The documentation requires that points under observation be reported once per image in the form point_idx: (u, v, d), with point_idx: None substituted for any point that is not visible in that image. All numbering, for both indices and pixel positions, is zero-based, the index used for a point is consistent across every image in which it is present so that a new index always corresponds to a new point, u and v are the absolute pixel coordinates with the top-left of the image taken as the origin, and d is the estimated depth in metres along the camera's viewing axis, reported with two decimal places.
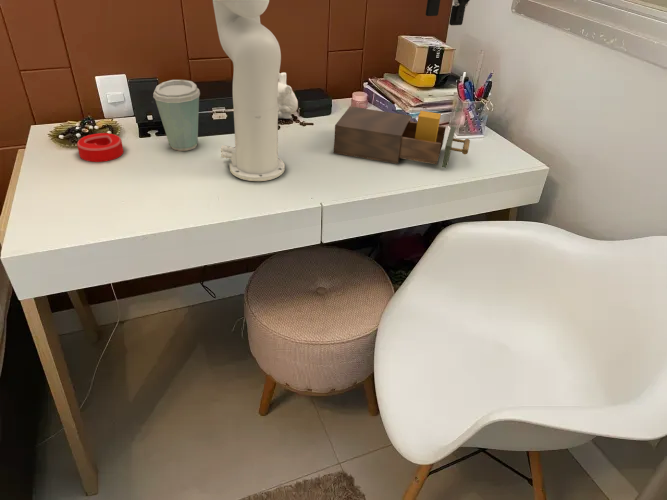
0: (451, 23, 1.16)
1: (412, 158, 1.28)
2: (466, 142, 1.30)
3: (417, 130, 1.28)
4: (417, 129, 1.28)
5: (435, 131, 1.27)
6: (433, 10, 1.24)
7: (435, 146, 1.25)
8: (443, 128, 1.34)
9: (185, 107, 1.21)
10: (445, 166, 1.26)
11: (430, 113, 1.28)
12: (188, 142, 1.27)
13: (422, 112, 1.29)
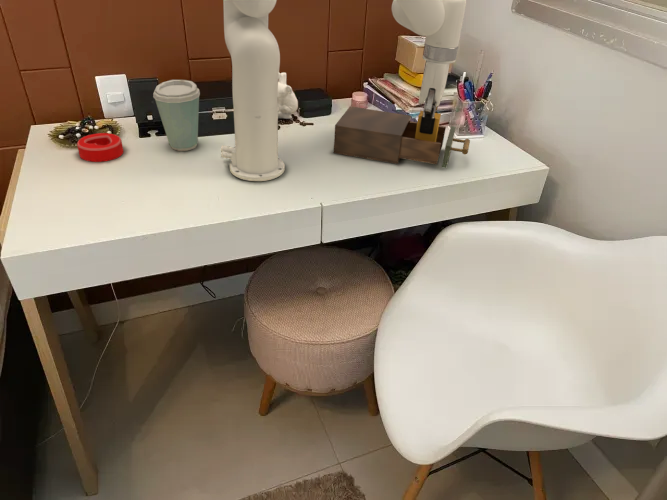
0: (420, 131, 1.28)
1: (412, 158, 1.28)
2: (466, 142, 1.30)
3: (417, 130, 1.28)
4: (417, 129, 1.28)
5: (435, 131, 1.27)
6: None
7: (435, 146, 1.25)
8: (443, 128, 1.34)
9: (185, 107, 1.21)
10: (445, 166, 1.26)
11: None
12: (188, 142, 1.27)
13: (422, 112, 1.29)
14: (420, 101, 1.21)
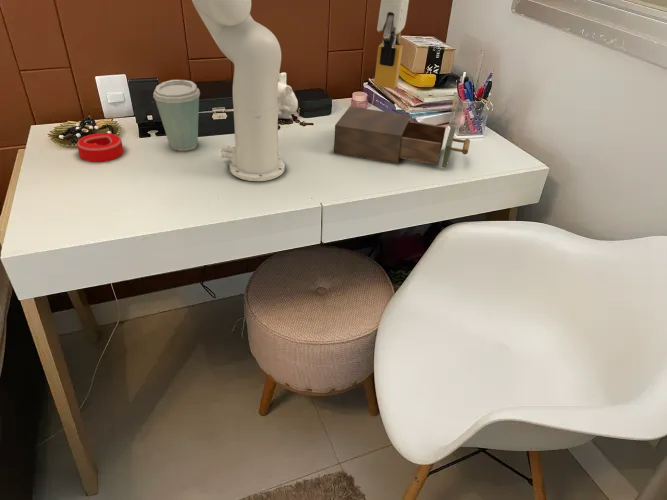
0: (380, 63, 1.21)
1: (412, 158, 1.28)
2: (466, 142, 1.30)
3: (377, 62, 1.22)
4: (377, 61, 1.22)
5: (396, 63, 1.21)
6: None
7: (435, 146, 1.25)
8: (443, 128, 1.34)
9: (185, 107, 1.21)
10: (445, 166, 1.26)
11: None
12: (188, 142, 1.27)
13: None
14: (378, 27, 1.15)
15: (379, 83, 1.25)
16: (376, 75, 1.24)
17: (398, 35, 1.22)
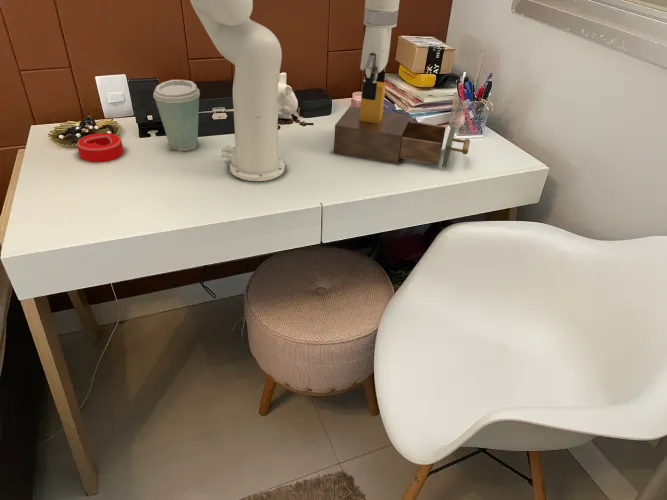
0: (362, 97, 1.24)
1: (412, 158, 1.28)
2: (466, 142, 1.30)
3: (362, 99, 1.28)
4: (362, 98, 1.28)
5: (380, 100, 1.27)
6: None
7: (435, 146, 1.25)
8: (443, 128, 1.34)
9: (185, 107, 1.21)
10: (445, 166, 1.26)
11: None
12: (188, 142, 1.27)
13: None
14: (362, 67, 1.21)
15: (364, 118, 1.31)
16: (361, 111, 1.30)
17: (383, 67, 1.29)
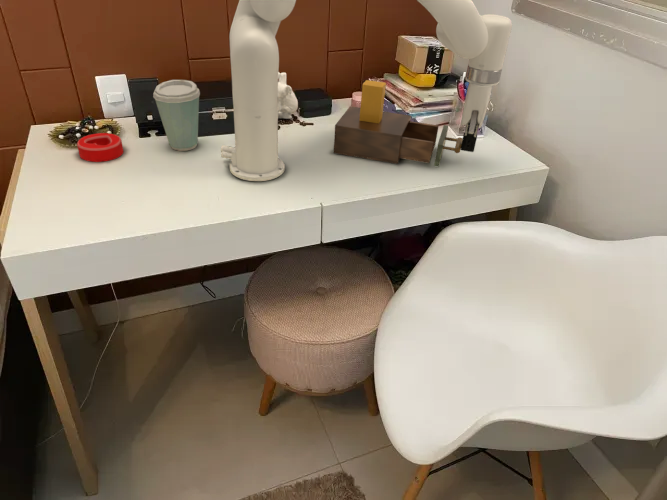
0: (461, 149, 1.29)
1: (405, 157, 1.29)
2: (458, 141, 1.30)
3: (362, 99, 1.28)
4: (362, 98, 1.28)
5: (380, 100, 1.27)
6: None
7: (427, 145, 1.26)
8: (436, 127, 1.34)
9: (185, 107, 1.21)
10: (437, 165, 1.27)
11: (375, 82, 1.28)
12: (188, 142, 1.27)
13: (367, 81, 1.28)
14: (463, 123, 1.21)
15: (364, 118, 1.31)
16: (361, 111, 1.30)
17: None
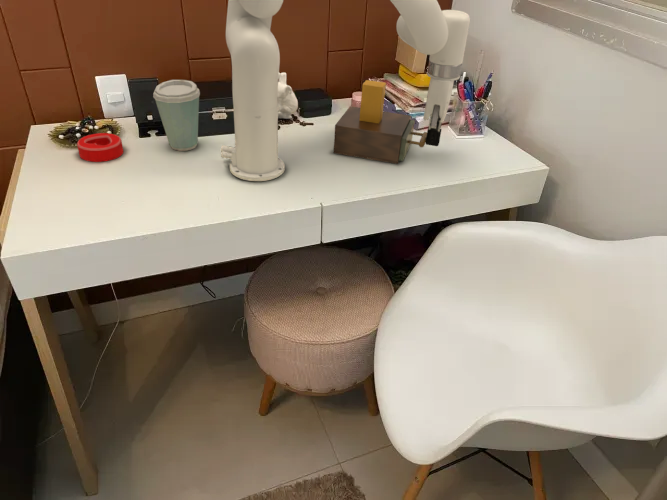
0: (426, 143, 1.31)
1: None
2: (424, 135, 1.32)
3: (362, 99, 1.28)
4: (362, 98, 1.28)
5: (380, 100, 1.27)
6: None
7: None
8: None
9: (185, 107, 1.21)
10: (402, 159, 1.29)
11: (375, 82, 1.28)
12: (188, 142, 1.27)
13: (367, 81, 1.28)
14: (425, 117, 1.23)
15: (364, 118, 1.31)
16: (361, 111, 1.30)
17: None
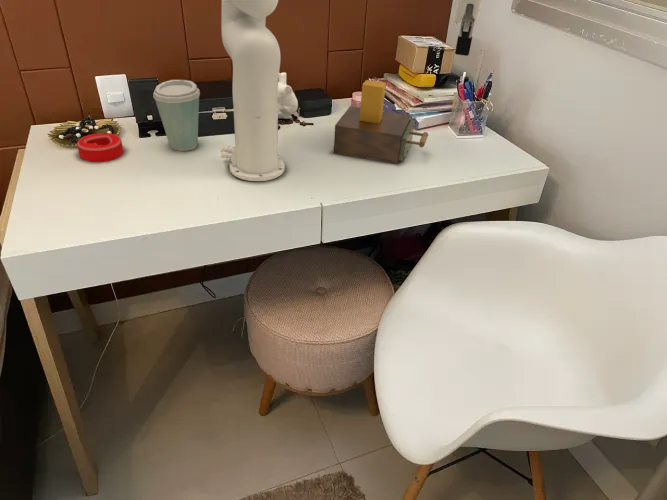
0: (455, 52, 1.24)
1: None
2: (424, 135, 1.32)
3: (362, 99, 1.28)
4: (362, 98, 1.28)
5: (380, 100, 1.27)
6: None
7: None
8: None
9: (185, 107, 1.21)
10: (402, 159, 1.29)
11: (375, 82, 1.28)
12: (188, 142, 1.27)
13: (367, 81, 1.28)
14: (457, 19, 1.16)
15: (364, 118, 1.31)
16: (361, 111, 1.30)
17: None
